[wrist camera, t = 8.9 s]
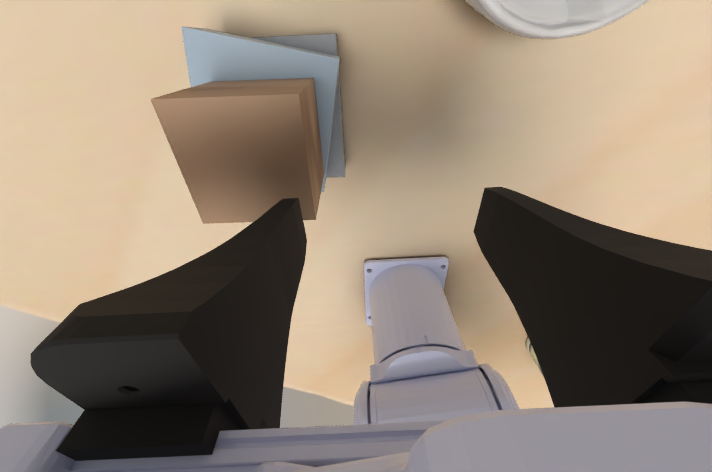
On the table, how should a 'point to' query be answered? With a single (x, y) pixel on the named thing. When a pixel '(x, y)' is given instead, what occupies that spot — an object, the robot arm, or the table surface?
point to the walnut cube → (246, 145)
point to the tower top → (263, 68)
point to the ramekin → (553, 15)
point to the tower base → (329, 46)
